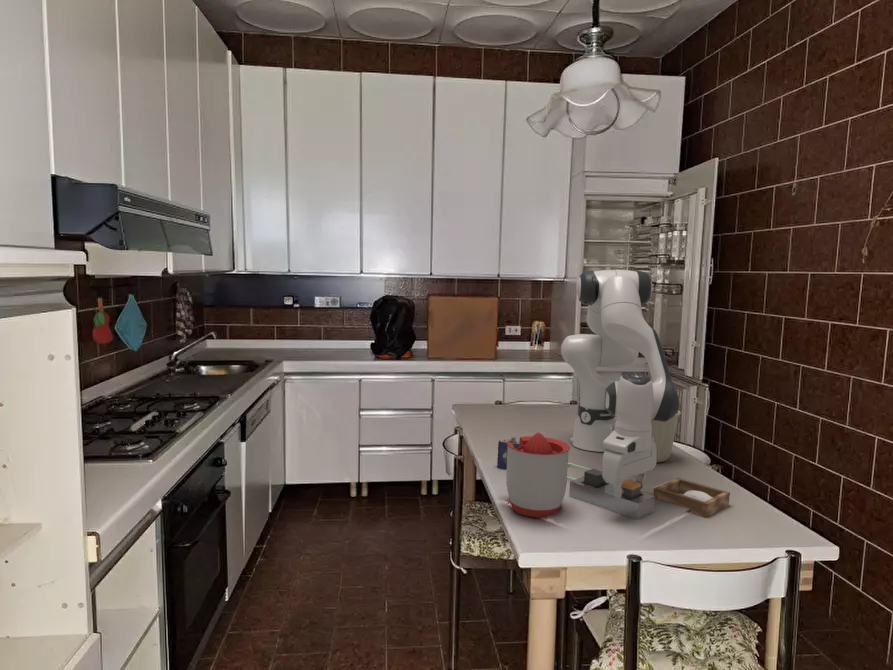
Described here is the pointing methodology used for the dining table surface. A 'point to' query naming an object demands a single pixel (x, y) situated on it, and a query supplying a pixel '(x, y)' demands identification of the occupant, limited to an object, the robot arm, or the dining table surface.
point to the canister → (664, 436)
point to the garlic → (697, 495)
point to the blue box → (504, 451)
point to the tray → (576, 468)
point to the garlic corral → (695, 506)
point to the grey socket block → (612, 499)
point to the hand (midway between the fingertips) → (628, 492)
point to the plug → (631, 489)
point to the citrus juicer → (536, 475)
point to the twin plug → (594, 478)
